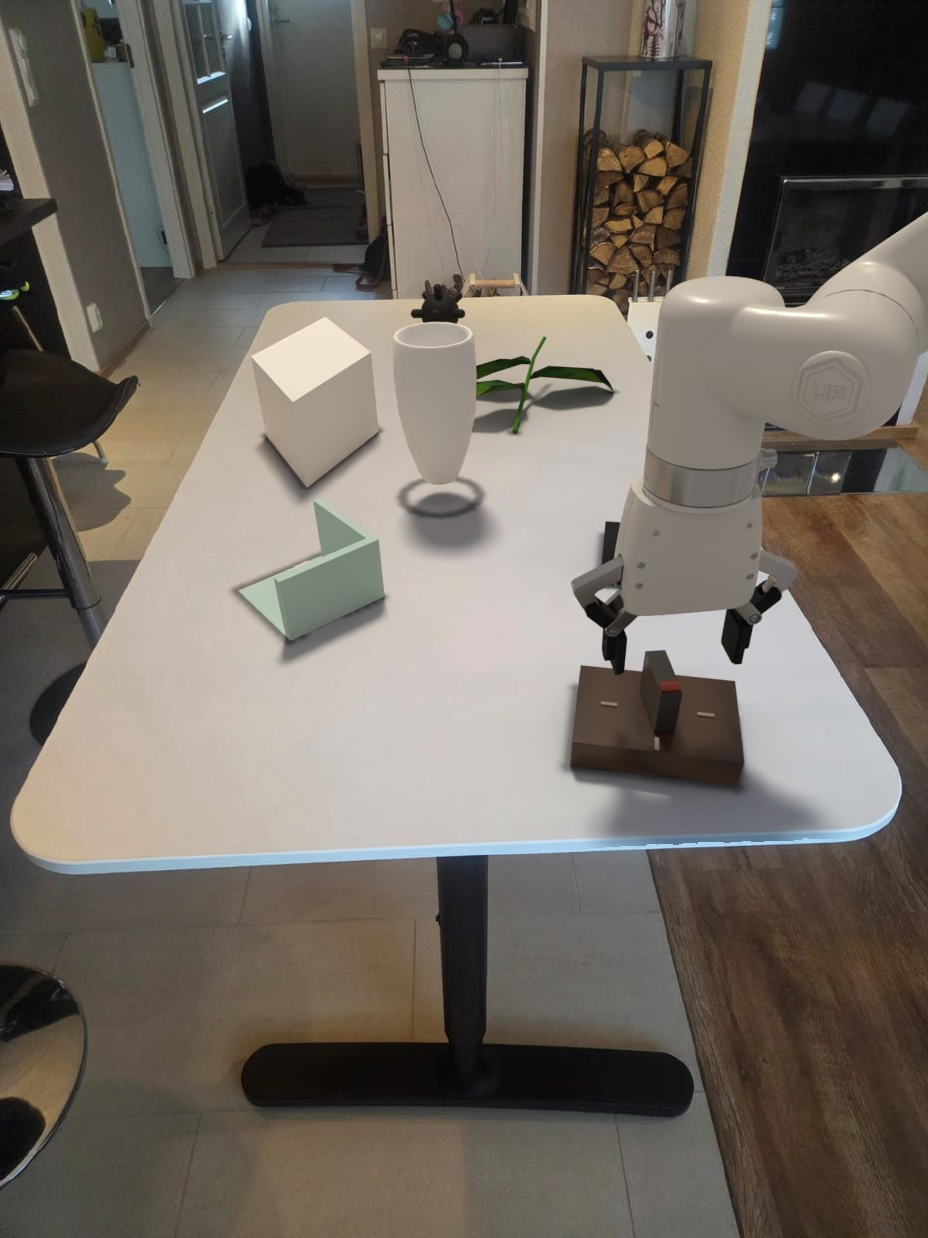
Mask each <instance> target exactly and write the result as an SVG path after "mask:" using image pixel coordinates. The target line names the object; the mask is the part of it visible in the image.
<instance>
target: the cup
mask: <svg viewBox="0 0 928 1238" xmlns="http://www.w3.org/2000/svg"><path fill="white" fill-rule="evenodd" d="M391 340H392V341H391V342H392V343H391V344H392V362H393V363H392V364H393V366H392V367H393V381H394V388H395V389H394V390H395V396H396V404H397V413H398V416H399V420H400V424H401V426H402V430H403V434H404V436H405V440H406V445H407V447H408V449H409V452H410V454H411V456H412V459H413V461H414V464H415V466H416V468H417V470H418V472H419V474H420V476H421V477H422V480H423V481H424V482H426V483H427V484H431V485H438V486H442V485H447V484H451V483H453V482H454V481H456V480H457V478H458V477H459V474H460V472H461V470H462V468H463V466H464V463H465V462H464V461H465V458H466V455H467V452H468V449H469V446H470V442H471V437H472V431H473V428H474V427H473V426H474V422H475V416H476V410H477V408H476V407H477V397H476V382H477V373H476V366H477V357H476V338H475V334H474V333H473V332H472V329H471V328H469V327H467V326H465V325H463V324H460V323H457V324H454V323H449V322H428V323H423V322H419V323H415V324H410V325H406V326H404V327H402V328H400V329H397V331H396V332H395V334H394V335H393V336H392V338H391Z"/></svg>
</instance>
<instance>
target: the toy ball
mask: <svg viewBox="0 0 928 1238" xmlns="http://www.w3.org/2000/svg"><path fill="white" fill-rule="evenodd" d="M421 298H422V299H423V303H422V304H421V307H420V308H414V309H412V310H411V311H410V316H411V318H412V319H421V323H428V322H449V323H454V324H458V322H459V319H464V318H465V317H466V311H465V310H464V309H462V308H459V305H458V303H459V302H460V301H461V300H462V299H463V293H462V292H461V291H458V290H457V291H455V292H454V293H453V294H452V295H450V294H448V293H445V292H443V286H442V285H441V284H440V283H436V284H434V285H433V293H430V291H428V290H424V291H423V292H422V294H421Z"/></svg>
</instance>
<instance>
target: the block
mask: <svg viewBox="0 0 928 1238" xmlns="http://www.w3.org/2000/svg"><path fill="white" fill-rule="evenodd" d="M250 359H251V363H252V370H253V374H254V380H255V385H256V390H257V395H258V400H259V406H260V411H261V417H262V421H263V426H264V432H265V436H266V437H267V438H268V440H269V441H270V442H271V444H272V445H273V447H275V449H276V450H277V452H278V453H279V454H280V455H281V456H282V458H283V459H284V461H285V462H286V463H287V464H288V466H289V467H290V469H292V471H293V472H294V473H295V475H296V476H297V477H298V478H299V480H300V481H301V482H302V484H303V485H304V486H305V488H309V487H310V486H311V485H313V484H314V483H315V482H316V481H318V480H319V479H320V478H322V477H323V476H325V475H326V474H327V473H328V472H329V471H330V470H332V469H334V468H335V466H337V465H338V464H339V463H341V462H342V461H344V460H345V459H346V458H347V457H348V456H351V454H352V453H353V452H355V451H356V450H357V449H359V448H360V447H361V446H363V445H364V444H365V443H366V442H368V441H369V440H370V439H371V438H373V437H374V436H375V435H376V434H378V433H379V431H380V429H379V420H378V419H379V418H378V410H377V400H376V391H375V390H376V389H375V381H374V371H373V369H374V368H373V360H372V359H373V358H372V352H371V351H370V350H369V349H367V348H366V347H365V346H363V345H362V344H361V343H360V342H359V341H357V340H356V339H354V338H353V337H352V336H351V335H349V334H348V333H347V332H346V331H344V330H343V329H341V328H340V327H339V326H338V325H336V324H335V323H334V322H332V321H331V320H330V319H329V318H327V317H326V316H324V317H321V318H320V319H318V320H317V321H313V322H312V323H310V324H309V325H306V326H305V327H303V328H301V329H299V330H298V331H296V332H293V333H292V334H290V335H288V336H287V337H284V338H282V339H281V340H279V341H277V342H275V343H273V344H272V345H270V346H268V347H266V348H264V349H262V350H260V351H258V352H256V353H254V354H253V355H251V356H250Z"/></svg>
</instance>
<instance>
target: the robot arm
mask: <svg viewBox="0 0 928 1238" xmlns="http://www.w3.org/2000/svg"><path fill="white" fill-rule="evenodd" d="M657 319H658V320H657V328H656V338H655V349H654V361H653V369H652V371H653V372H652V381H651V390H650V392H651V394H650V405H649V417H648V427H647V438H646V446H645V457H644V466H643V476H642V477H641V476H640V477H636V478H634V479H633V481H631V484H630V487H629V489H628V491H627V495H626V498H625V502H624V506H623V509H622V514H621V517H620V521H619V522H620V527H619V532H618V538H617V543H616V549H615V555H614V559H612V560H610V561H609V562H607V563H605V564H603V565H601V564H600V565H599V566H597V567H595V568H593V569H591V570H589V571H587V572H585V573H583V574H580V575H579V576H577V577H575V578H573V579H572V580H571V581H570V586H571V590H572V592H573V596H574V597H575V599H576V600H577V602H578V604H579V605H580V606H581V609H583V611H584V613H585V616H586V617H587V618H588V619H589V620H590V621H592V622H593V623H595V625H597V626H598V627H600V628H601V629H602V636H601V654H602V659H603V661H604V662H610V664H611V665H610V666H611V668H613V671H614V674H615V675H622V673H624V670H626V668H625V667H626V659H627V658H626V657H627V649H628V648H627V647H628V635H627V633H626V631H625V630H626V628H627V627H628V626H630V625H631V624H632V623H633V621H635V620H636V619H637V618H638V617H652V616H653V617H655V616H668V615H669V616H670V615H680V614H681V615H682V614H694V613H703V612H714V611H715V612H716V611H724V610H725V615H724V621H723V627H722V632H721V638H720V644H721V646H722V648H723V650H724V652H725V654H726V656H727V658H728V660H729V661H730V663H731V664H733V665H738V666H739V665H742V664H743V661H744V655H745V650H747V649H749V648H750V644H751V639H752V634H753V630H754V626H755V625H757V624H759V623H760V622H761V621H762V619H763V614H764V613H766V612H767V611H768V610H770V609H771V608H772V607H773V606H775V605H776V604H777V603H779V602H780V601H781V599H782V598H783V593H784V592H785V591H787V590H788V588H789V587H790V586H791V585H792V583H793V582H794V581H795V580H796V578H797V577H798V575H799V573H800V572H799V570H798V569H797V567H796V566H795V564H794V563H793V562H792V561H791V560H790V559H787V558H785V557H783V556H780V555H776V554H774V553H772V552H769V551H767V550H764V549H762V542H763V502H762V499H763V498H762V490H761V487H760V485H759V484H758V481H759V475H760V473H761V472H764V471H765V470H767V469H774V468H775V467H776V466H777V464H778V453H777V450H776V449H775V448H767V449H766V448H765V447H762V443H763V437H764V434H765V433H764V432H765V427H766V423H767V424H769V425H771V426H775V427H778V428H781V429H783V430H786V431H789V432H791V433H794V434H798V435H801V436H805V437H808V438H812V439H816V440H817V439H818V440H823V441H847V440H853V439H857V438H861V437H864V436H866V435H868V434H869V435H870V433H873V432H874V431H875V430H878V429H879V428H881V427H882V426H884V425H885V424H886V423H887V422H888V421H890V420H891V418H892V417H894V415H895V414H896V413H897V412H898V410H899V409H900V408H901V405H902V404H903V402H904V400H905V399H906V397H907V395H908V392H909V388H910V387H911V385H912V382H913V381H912V380H913V377H914V374H915V371H916V368H917V364H918V362H919V359H920V356H922V355H924V354H925V353H927V352H928V211H927V212H925V213H923V214H922V215H920V216H919V217H917V218H916V219H915V220H913V221H912V222H910V223H909V224H907V225H906V226H904V227H902V228H901V229H900V230H898V231H897V232H895V233H894V234H893V235H890V237H888V238H886V239H885V240H883V241H882V242H881V243H878V245H876V246H875V247H873V248H872V249H870V250H869V251H867V252H866V253H864V254H863V255H861V256H860V257H858V258H857V259H855V260H854V261H853V262H851V263H850V264H848V265H847V266H845V267H844V268H842V269H841V270H840V271H838V272H837V273H836V274H834V275H832V276H831V277H830V278H829V279H828V280H827V281H826V282H824V283H823V285H821V286H820V287H819V288H818V289H817V290H816V292H815V293H814V294H813V295H812V296H811V297H810V298H809V300H808V301H807V302H806V303H805V304H803V305H800V306H796V307H795V306H794V307H786V305H785V300H784V298H783V296H782V294H781V293H780V291H779V290H777V288H776V287H774V286H773V285H771V284H769V283H767V282H764V281H761V280H758V279H754V278H749V277H743V276H732V275H716V276H715V275H714V276H713V275H712V276H702V277H697V278H691V279H689V280H686V281H683V282H680V283H678V284H675V286H673V287H672V288H671V289H670V290H669V291H668V292H667V293H666V294H665V296H664V298H663V300H662V302H661V304H660V308H659V312H658V318H657ZM759 572H762V573H764V574H767V575H768V576H767V577H766V578H767V579H764V580H763V581H762V582H760V583H759V584H758V585H757V581H758V577H759V576H758V575H759ZM612 585H614V588H618V589H617V590H616V591H615V592H614V593H613V594H612V595H611V596H610V597H609V598H608V599H607V600H606V601H603V600H601V598H599V597H598V596H597V595H596V594H597V593H598V592H600V591H602V590H604V589H606V588H607V587H610V586H612Z"/></svg>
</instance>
